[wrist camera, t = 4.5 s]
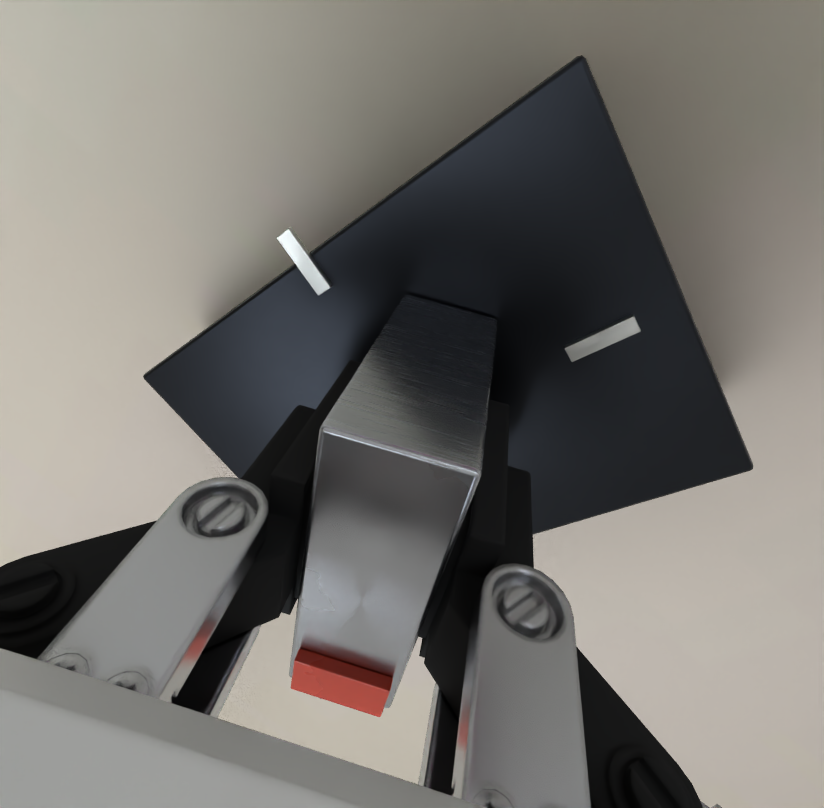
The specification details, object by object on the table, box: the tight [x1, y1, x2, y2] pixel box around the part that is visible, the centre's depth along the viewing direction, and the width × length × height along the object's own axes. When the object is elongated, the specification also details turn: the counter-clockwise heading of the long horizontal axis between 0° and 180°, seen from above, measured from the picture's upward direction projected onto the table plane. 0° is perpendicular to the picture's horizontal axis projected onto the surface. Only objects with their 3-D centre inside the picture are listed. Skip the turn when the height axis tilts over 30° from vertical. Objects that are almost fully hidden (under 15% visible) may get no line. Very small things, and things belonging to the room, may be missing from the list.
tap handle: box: [289, 295, 497, 717], centre depth 9 cm, size 6×2×5 cm, turn 168°
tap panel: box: [143, 55, 753, 534], centre depth 12 cm, size 12×10×3 cm
